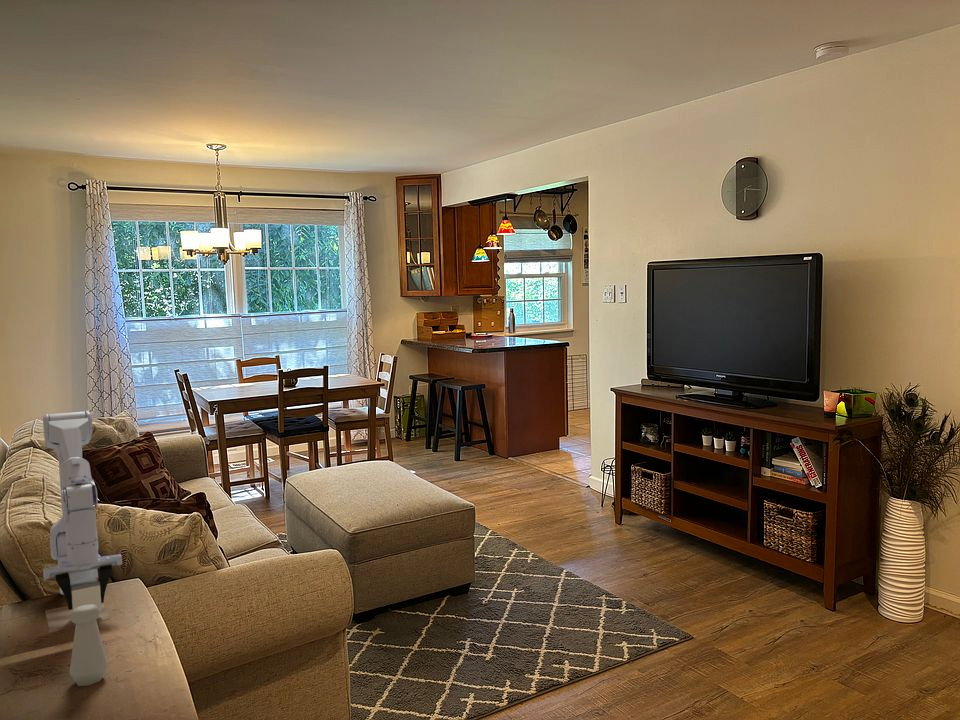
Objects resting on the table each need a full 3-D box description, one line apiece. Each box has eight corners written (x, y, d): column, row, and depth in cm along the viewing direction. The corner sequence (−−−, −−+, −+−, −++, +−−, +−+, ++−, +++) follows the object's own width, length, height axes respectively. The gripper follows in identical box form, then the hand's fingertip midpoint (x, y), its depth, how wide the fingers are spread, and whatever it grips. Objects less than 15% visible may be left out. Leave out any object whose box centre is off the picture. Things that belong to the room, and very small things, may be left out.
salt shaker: (96, 688, 123) (91, 612, 122) (63, 689, 123) (58, 613, 123) (114, 672, 129) (110, 600, 128) (82, 673, 129) (78, 601, 128)
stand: (45, 616, 159) (43, 593, 159) (101, 603, 165) (99, 582, 165) (50, 638, 146) (48, 614, 146) (110, 624, 152) (109, 601, 152)
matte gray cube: (71, 609, 154) (69, 581, 154) (98, 603, 157) (96, 576, 156) (73, 616, 149) (71, 588, 149) (101, 610, 152) (99, 582, 152)
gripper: (43, 552, 145) (47, 619, 146) (122, 538, 153) (126, 601, 154) (41, 545, 151) (45, 609, 151) (117, 532, 159) (121, 593, 160)
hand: (85, 605), depth 153 cm, fingers closed on matte gray cube, 5 cm apart
